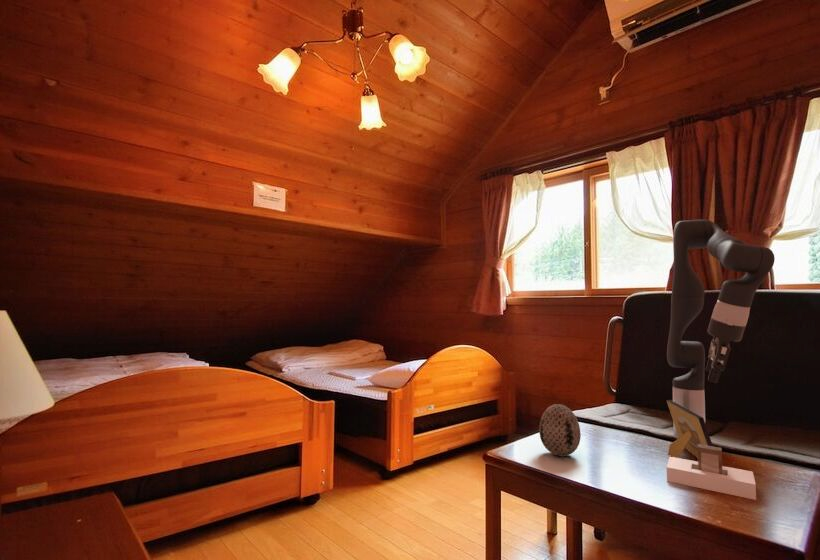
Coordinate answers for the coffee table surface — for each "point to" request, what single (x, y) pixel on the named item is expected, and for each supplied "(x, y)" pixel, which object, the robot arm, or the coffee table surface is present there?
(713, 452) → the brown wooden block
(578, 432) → the decorative egg
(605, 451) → the coffee table surface
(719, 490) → the notch stand
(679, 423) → the picture frame
